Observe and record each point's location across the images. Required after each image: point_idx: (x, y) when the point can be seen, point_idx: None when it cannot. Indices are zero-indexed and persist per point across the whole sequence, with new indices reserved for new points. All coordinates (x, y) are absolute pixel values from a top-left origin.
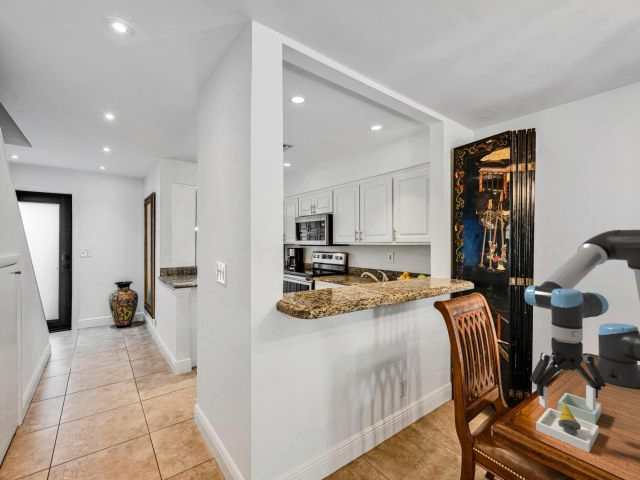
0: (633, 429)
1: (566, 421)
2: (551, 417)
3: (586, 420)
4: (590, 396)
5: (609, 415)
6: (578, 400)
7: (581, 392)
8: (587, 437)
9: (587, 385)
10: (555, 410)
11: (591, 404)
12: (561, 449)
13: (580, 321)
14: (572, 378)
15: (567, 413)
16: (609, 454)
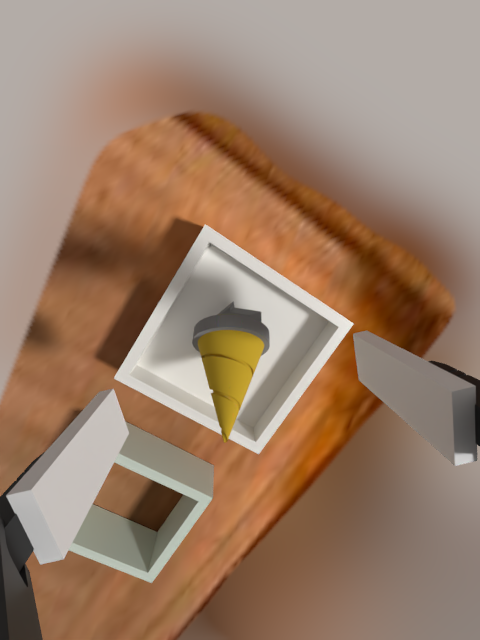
0: None
1: (251, 324)
2: (257, 411)
3: (136, 432)
4: (85, 454)
5: None
6: (118, 546)
7: (78, 623)
8: (177, 315)
9: (54, 551)
10: (239, 440)
11: (105, 413)
12: (297, 217)
13: None
14: None
15: (234, 369)
16: (138, 241)
